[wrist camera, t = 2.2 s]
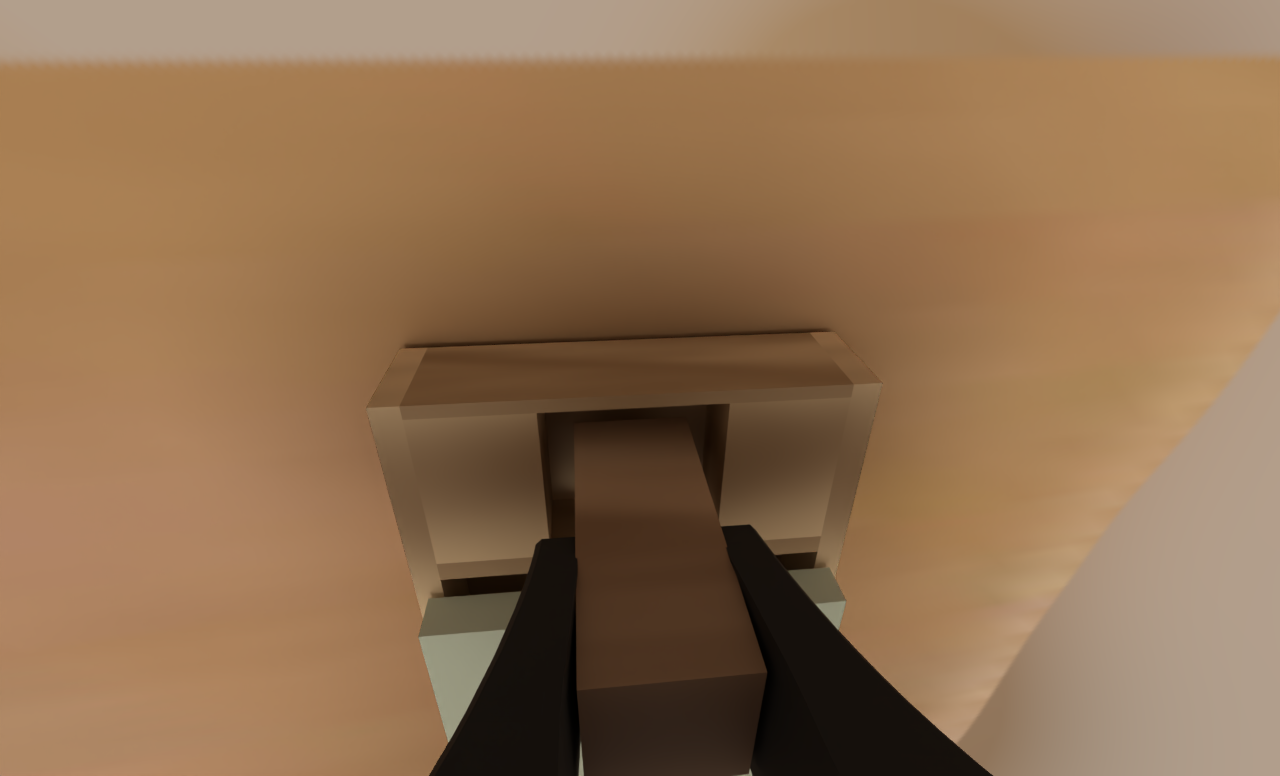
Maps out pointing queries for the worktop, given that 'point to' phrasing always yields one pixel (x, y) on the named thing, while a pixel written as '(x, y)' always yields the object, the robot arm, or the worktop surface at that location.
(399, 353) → the shallow wooden tray
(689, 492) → the dark brown rectangular block
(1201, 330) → the worktop surface
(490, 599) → the lid
